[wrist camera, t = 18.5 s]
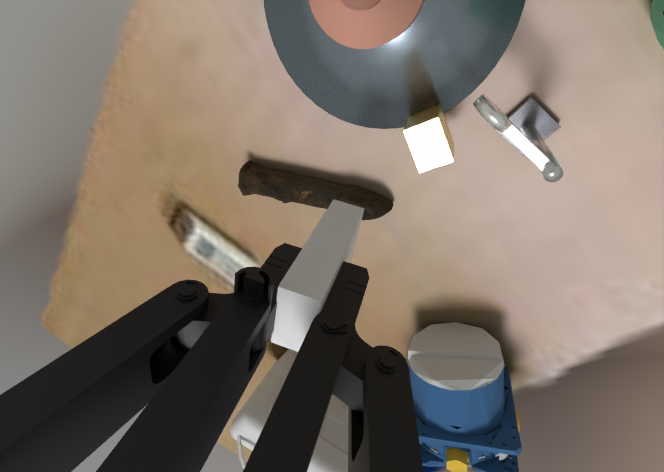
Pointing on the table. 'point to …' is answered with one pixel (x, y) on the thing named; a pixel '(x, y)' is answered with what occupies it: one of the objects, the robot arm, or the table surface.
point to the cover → (365, 20)
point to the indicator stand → (525, 132)
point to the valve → (463, 400)
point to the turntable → (398, 67)
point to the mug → (658, 19)
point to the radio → (247, 425)
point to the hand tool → (309, 190)
